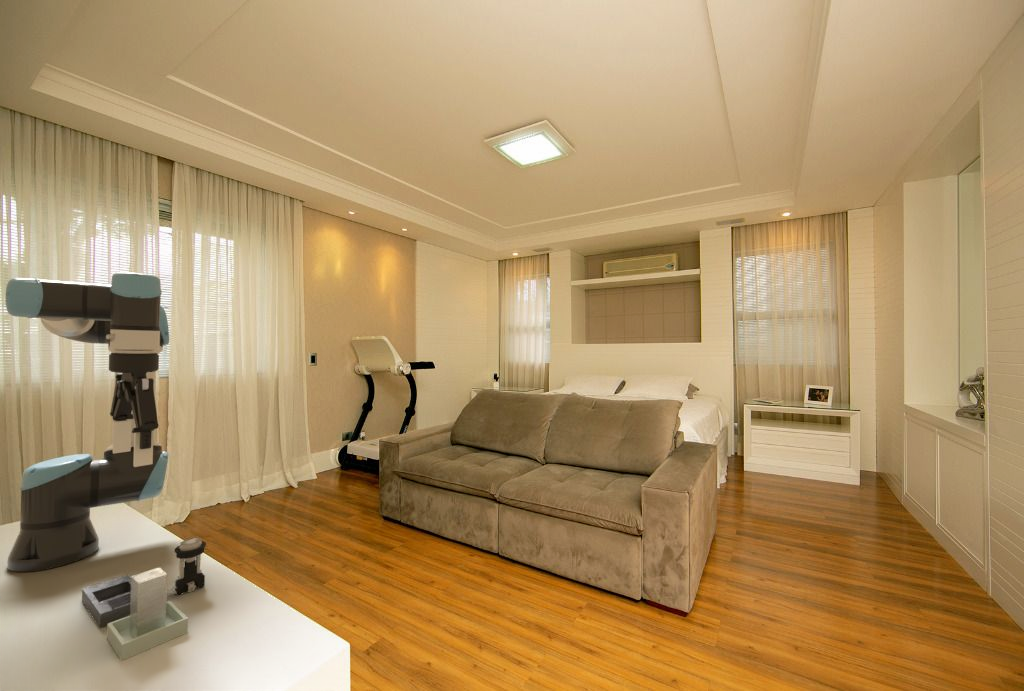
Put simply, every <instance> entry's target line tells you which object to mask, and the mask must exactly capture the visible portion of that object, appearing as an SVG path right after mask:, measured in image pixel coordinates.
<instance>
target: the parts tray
mask: <svg viewBox="0 0 1024 691" xmlns="http://www.w3.org/2000/svg"><path fill="white" fill-rule="evenodd" d="M188 624H189V617H188V616H186V615H185V614H184V612H182V611H181V610H180V608H178V606H176V605H175V604H174V603H173V602H172V601H171V600H168V601H166V626H164V627H161V628H159V629H156V630H154V631H151V632H149V633H146V634H144V635H141V636H139V637H136V638H134V639H133V638H132V636H131V635H130V616H127V617H124V618H122V619H119V620H116V621H114V622H111V623H108V624H107V626H106V640H107V641H108V642H109V644H110V645H111V647H112V648H113V650H114V652H115V653H116V654H117V655H118V657H119V659H120V660H121V661H124V660H126V659H128V658H131V657H133V656H135V655H138V654H140V653H142V652H145V651H147V650H149V649H151V648H154V647H156V646H159V645H161V644H163V643H166V642H168V641H171V640H172V639H176V638H177V637H180V636H182V635H185V634H186V633H189V632H188V630H189V629H188V628H189V625H188Z"/></svg>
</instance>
